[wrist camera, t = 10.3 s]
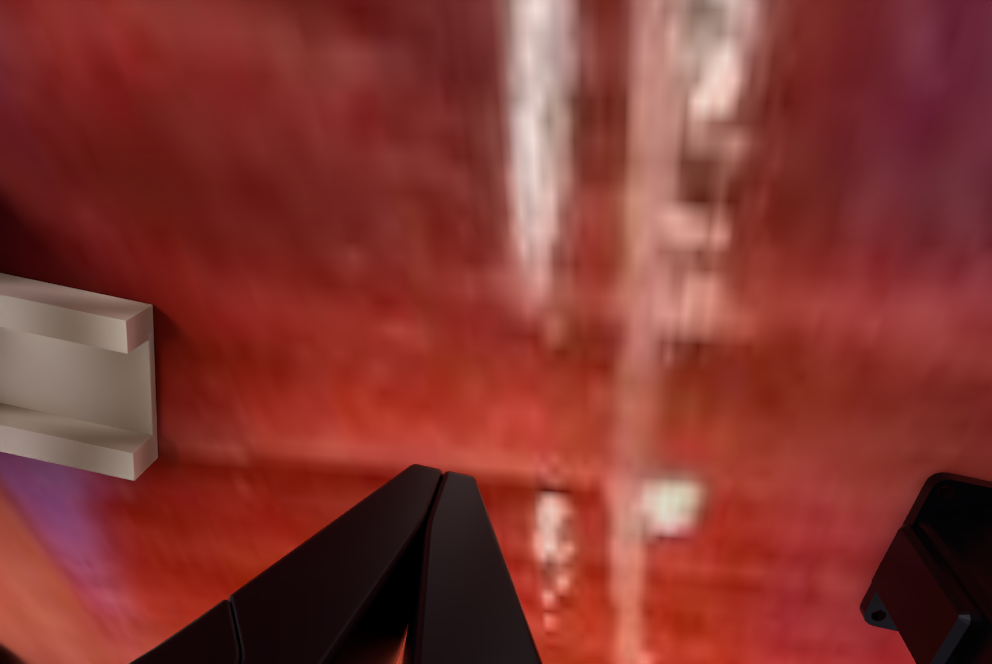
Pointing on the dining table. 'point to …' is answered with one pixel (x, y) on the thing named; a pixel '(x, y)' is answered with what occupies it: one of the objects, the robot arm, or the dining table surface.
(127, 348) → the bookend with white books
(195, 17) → the dining table surface
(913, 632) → the robot arm
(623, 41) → the dining table surface
